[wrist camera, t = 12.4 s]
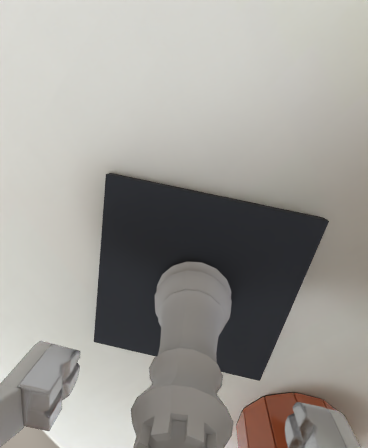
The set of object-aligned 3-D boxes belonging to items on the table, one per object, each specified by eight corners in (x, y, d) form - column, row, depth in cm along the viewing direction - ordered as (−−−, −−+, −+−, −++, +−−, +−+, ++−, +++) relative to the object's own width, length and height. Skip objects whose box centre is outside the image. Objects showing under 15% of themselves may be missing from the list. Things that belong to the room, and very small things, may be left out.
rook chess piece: (150, 261, 13) (77, 407, 6) (226, 253, 13) (253, 405, 5) (165, 322, 15) (122, 504, 7) (234, 316, 14) (265, 512, 7)
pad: (323, 217, 12) (329, 221, 12) (258, 372, 16) (260, 381, 16) (110, 172, 13) (105, 173, 12) (97, 335, 17) (93, 342, 16)
